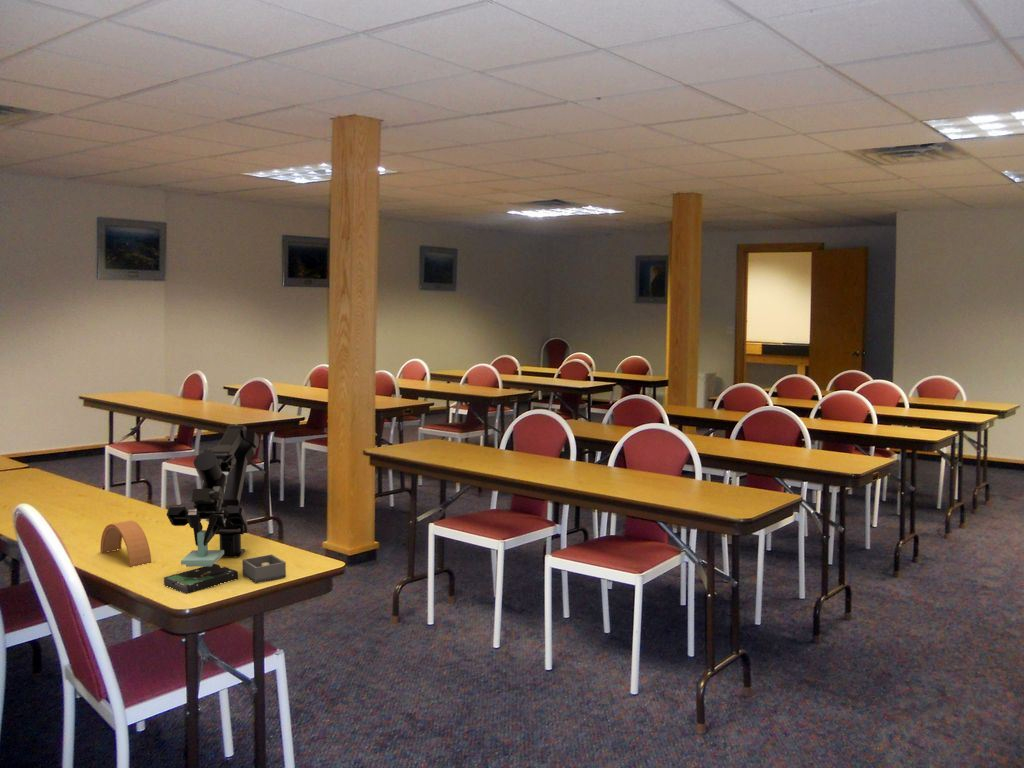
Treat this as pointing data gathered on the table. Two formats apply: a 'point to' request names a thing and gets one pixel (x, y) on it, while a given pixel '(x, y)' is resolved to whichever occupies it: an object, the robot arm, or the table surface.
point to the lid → (202, 554)
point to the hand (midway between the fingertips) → (200, 545)
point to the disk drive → (200, 578)
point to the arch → (127, 541)
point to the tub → (264, 568)
